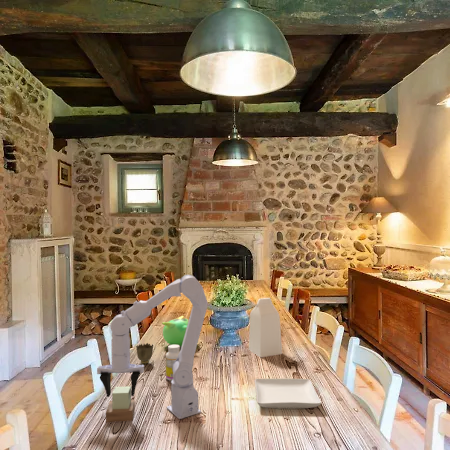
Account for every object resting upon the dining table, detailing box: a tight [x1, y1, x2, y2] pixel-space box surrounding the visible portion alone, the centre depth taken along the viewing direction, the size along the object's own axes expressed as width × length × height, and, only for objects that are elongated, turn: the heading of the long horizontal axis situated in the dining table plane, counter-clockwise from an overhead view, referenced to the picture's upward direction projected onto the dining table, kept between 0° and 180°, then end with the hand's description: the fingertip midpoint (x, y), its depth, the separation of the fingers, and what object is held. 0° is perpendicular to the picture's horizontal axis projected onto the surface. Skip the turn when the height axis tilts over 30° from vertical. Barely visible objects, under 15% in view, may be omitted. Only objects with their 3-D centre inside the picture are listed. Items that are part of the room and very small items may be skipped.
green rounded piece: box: [161, 315, 189, 348], centre depth 196 cm, size 18×17×15 cm
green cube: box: [111, 385, 132, 409], centre depth 123 cm, size 5×5×5 cm
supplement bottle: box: [165, 344, 181, 382], centre depth 153 cm, size 7×7×13 cm
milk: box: [248, 297, 283, 358], centre depth 186 cm, size 12×12×26 cm
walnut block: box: [105, 399, 136, 424], centre depth 123 cm, size 8×8×4 cm
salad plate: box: [254, 378, 322, 409], centre depth 135 cm, size 21×21×3 cm
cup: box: [135, 342, 154, 365], centre depth 171 cm, size 8×7×8 cm
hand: (120, 395), depth 123 cm, fingers open, 7 cm apart
